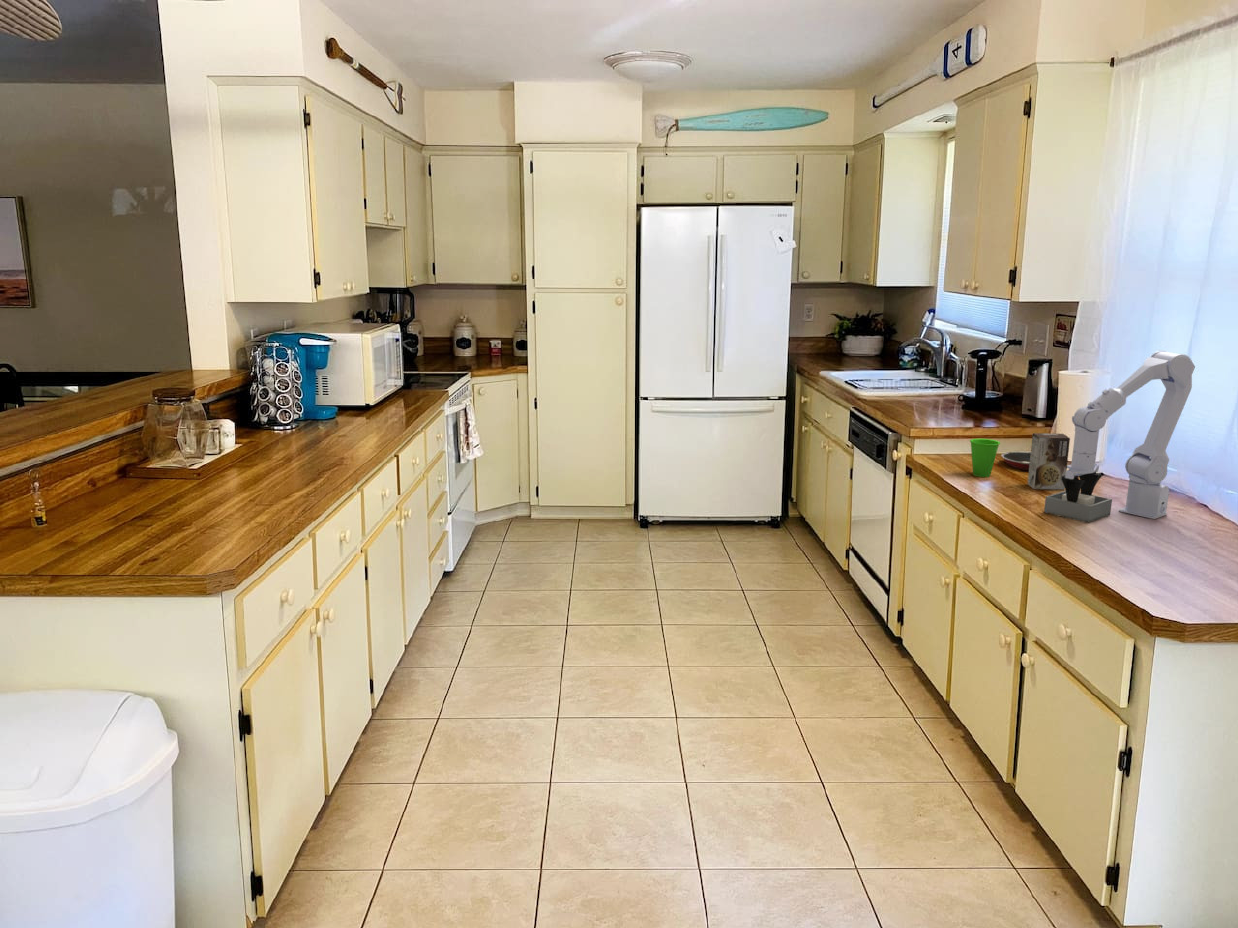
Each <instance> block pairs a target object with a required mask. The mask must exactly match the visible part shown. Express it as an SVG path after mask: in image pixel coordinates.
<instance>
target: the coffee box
mask: <svg viewBox="0 0 1238 928" xmlns="http://www.w3.org/2000/svg"><path fill="white" fill-rule="evenodd" d="M1031 437H1032V440H1031V447H1030V448H1031V449H1030V452H1031V456H1030V465H1029V470H1028V476H1027V485H1028V486H1029V487H1031V488H1032V489H1033V490H1055V491H1056V490H1060V491H1061V490H1063V491H1065V487H1064V484H1063V482H1062V480H1061V478H1062V476H1065V473H1066V471H1067V470H1068V468H1067V465H1068V460H1069V459H1068V458H1069V450H1070V441H1071V438H1070V437H1069V436H1067V435H1066V434H1064V433H1039V432H1038V433H1037V432H1035V433H1032V436H1031Z"/></svg>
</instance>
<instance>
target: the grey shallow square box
mask: <svg viewBox="0 0 1238 928" xmlns="http://www.w3.org/2000/svg"><path fill="white" fill-rule="evenodd" d="M1079 493H1080V494H1081V491H1080V492H1079ZM1063 494H1066V490H1063V491H1059V492H1057V493H1053V494H1051V495H1050V494H1049V495H1046V496H1045V498H1044V499H1045V501H1044V507H1043V508H1044V509H1043V513H1044V512H1045V514H1048V513H1051V514H1050V515H1052V514H1054V515H1053V516H1057V515H1059V516H1058V517H1061V516H1063V517H1062V518H1065V517H1067V518H1066V519H1070V518H1071V519H1070V520H1074V519H1075V520H1074V521H1078V520H1079V521H1080V522H1082V521H1084V522H1083V523H1087V522H1088V523H1093V522H1095V521H1098V520H1100V519H1103V518H1106V517H1109V516H1111V511H1112V504H1113V498H1108V497H1103V496H1099V495H1094V494H1092V495H1091V496H1094V497H1095V501H1094V504H1093V505H1090V506H1088V505H1084V504H1079V503H1075V502H1070V501H1066V500H1062V495H1063ZM1088 523H1087V524H1088Z"/></svg>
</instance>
